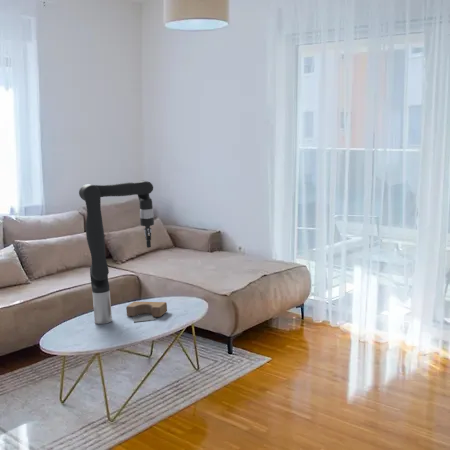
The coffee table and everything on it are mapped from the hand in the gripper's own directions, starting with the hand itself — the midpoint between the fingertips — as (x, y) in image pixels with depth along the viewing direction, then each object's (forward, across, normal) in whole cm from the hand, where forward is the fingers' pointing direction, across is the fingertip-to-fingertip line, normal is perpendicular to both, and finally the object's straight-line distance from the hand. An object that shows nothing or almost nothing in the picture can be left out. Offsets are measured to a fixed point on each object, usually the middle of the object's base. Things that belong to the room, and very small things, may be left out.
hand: (148, 247), depth 333 cm
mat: (+37, +12, -6) cm, 39 cm away
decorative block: (+34, +11, +5) cm, 36 cm away
